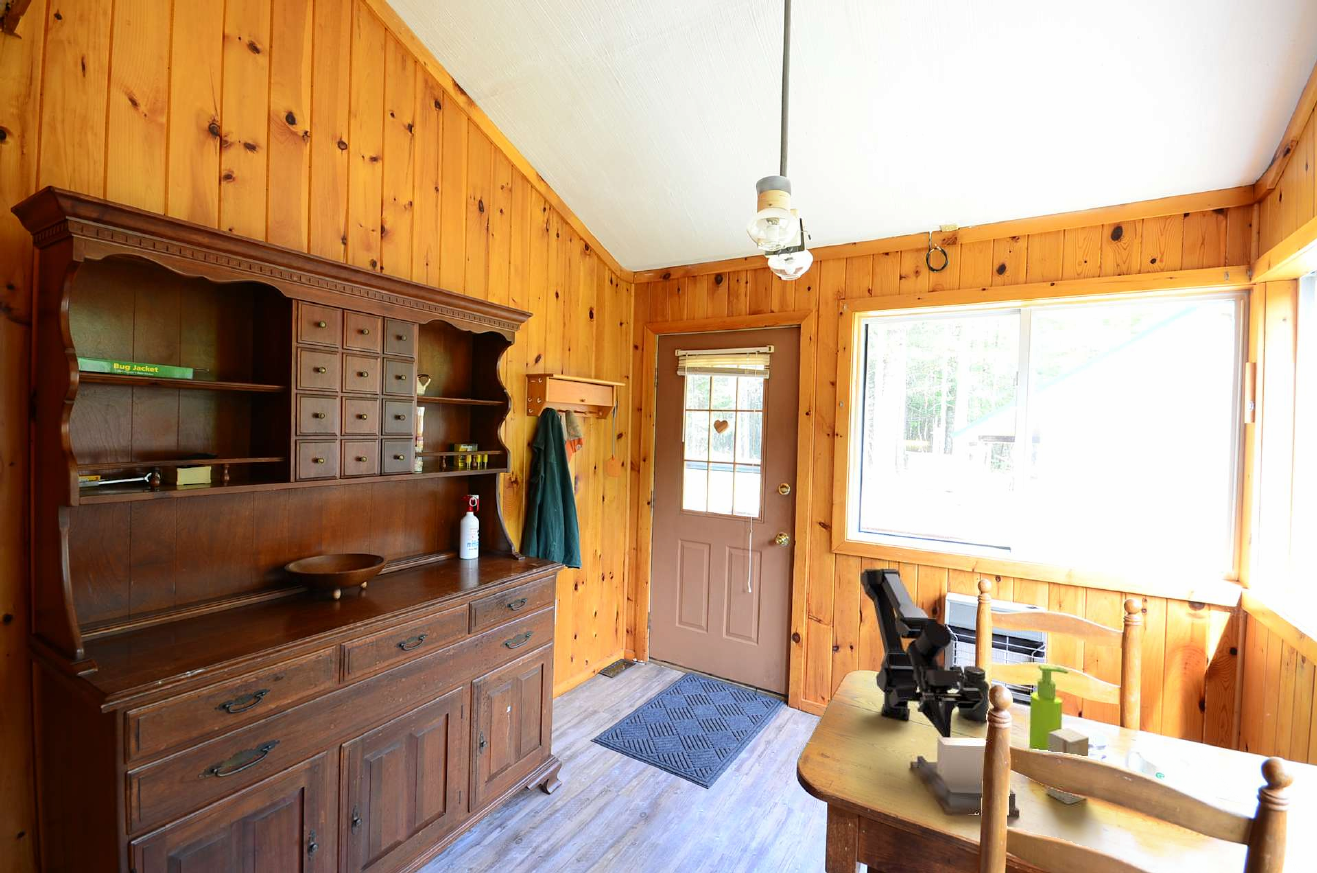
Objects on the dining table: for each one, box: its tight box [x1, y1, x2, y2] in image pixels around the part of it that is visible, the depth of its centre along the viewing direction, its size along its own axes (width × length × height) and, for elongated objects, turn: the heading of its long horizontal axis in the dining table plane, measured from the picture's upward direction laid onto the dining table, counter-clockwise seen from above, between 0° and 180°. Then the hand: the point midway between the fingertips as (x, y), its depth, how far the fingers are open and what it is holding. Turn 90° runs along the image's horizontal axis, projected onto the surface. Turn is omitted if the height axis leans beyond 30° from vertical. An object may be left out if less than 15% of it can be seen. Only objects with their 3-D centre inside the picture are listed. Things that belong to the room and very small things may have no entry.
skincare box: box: [1046, 727, 1090, 805], centre depth 118 cm, size 6×4×12 cm
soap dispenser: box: [1029, 664, 1069, 750], centre depth 132 cm, size 6×7×20 cm
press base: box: [909, 755, 1020, 818], centre depth 118 cm, size 16×14×4 cm
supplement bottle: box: [958, 665, 990, 723], centre depth 151 cm, size 7×7×12 cm
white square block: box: [936, 736, 987, 788], centre depth 118 cm, size 4×9×9 cm, turn 90°
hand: (947, 739), depth 124 cm, fingers closed
